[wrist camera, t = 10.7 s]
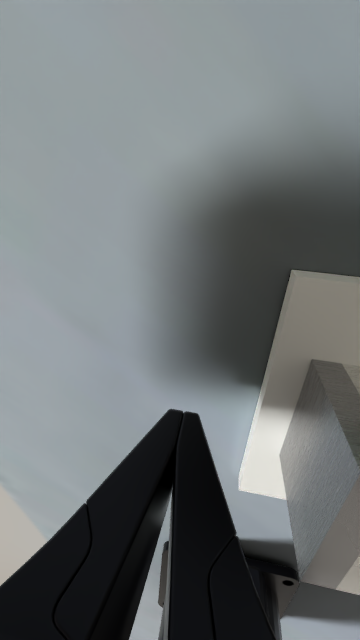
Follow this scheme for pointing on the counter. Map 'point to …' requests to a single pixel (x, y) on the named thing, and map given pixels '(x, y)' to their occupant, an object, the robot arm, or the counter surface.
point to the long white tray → (298, 366)
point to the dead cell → (325, 476)
